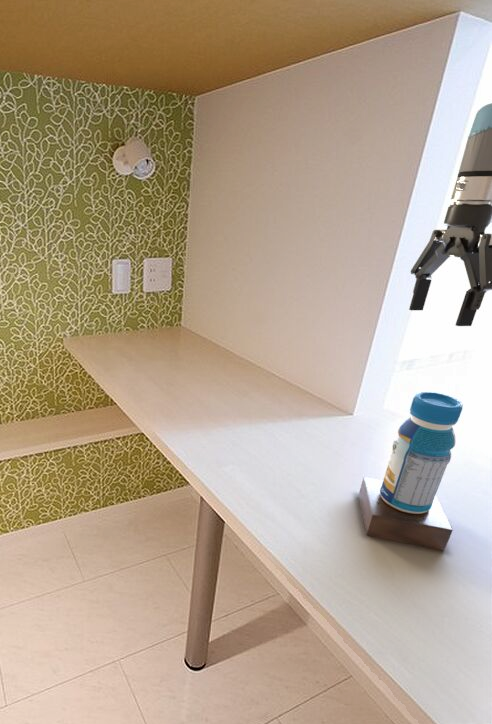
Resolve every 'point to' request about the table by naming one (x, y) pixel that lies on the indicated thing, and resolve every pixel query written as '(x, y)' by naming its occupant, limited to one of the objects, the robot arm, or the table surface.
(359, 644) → the table surface
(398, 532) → the riser
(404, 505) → the beverage bottle
